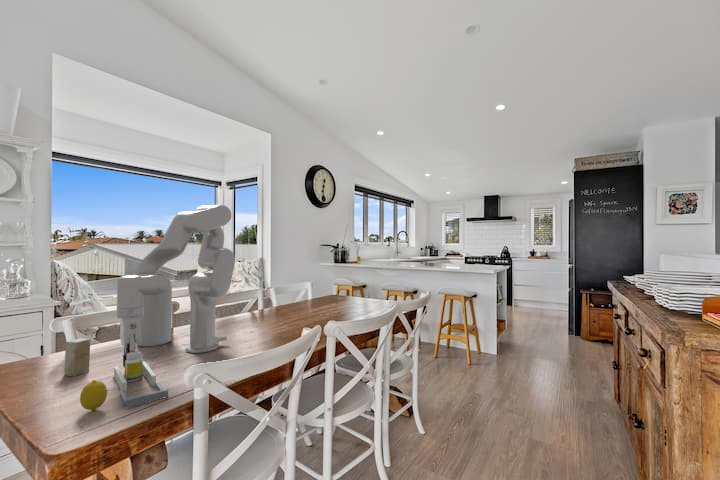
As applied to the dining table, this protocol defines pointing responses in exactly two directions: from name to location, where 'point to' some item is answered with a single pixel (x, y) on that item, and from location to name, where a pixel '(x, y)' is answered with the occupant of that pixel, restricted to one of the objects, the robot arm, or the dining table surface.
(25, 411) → the dining table surface
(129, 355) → the supplement bottle
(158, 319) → the cylinder vase
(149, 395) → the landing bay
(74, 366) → the box
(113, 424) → the dining table surface
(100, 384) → the lemon
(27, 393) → the dining table surface
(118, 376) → the chute
